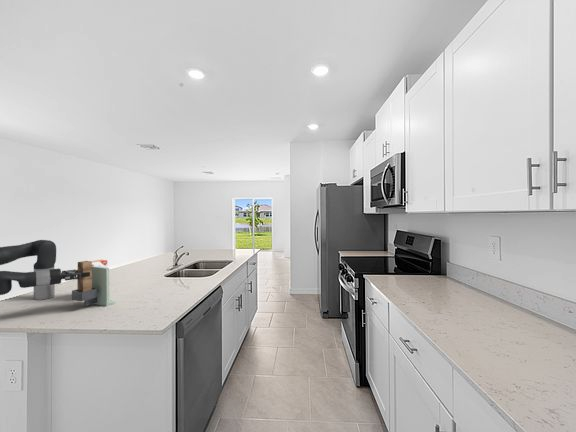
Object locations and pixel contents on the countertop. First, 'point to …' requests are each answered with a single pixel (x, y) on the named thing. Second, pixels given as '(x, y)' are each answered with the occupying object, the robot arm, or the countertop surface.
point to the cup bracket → (96, 289)
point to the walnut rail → (85, 282)
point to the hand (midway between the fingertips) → (88, 272)
